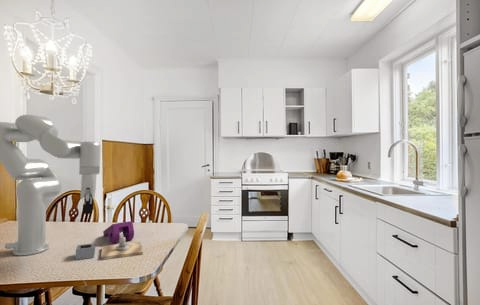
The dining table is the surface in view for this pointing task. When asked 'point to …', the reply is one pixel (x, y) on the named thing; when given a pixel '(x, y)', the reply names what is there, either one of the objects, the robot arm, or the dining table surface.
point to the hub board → (121, 250)
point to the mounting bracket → (119, 231)
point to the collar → (85, 251)
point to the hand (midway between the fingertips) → (88, 211)
